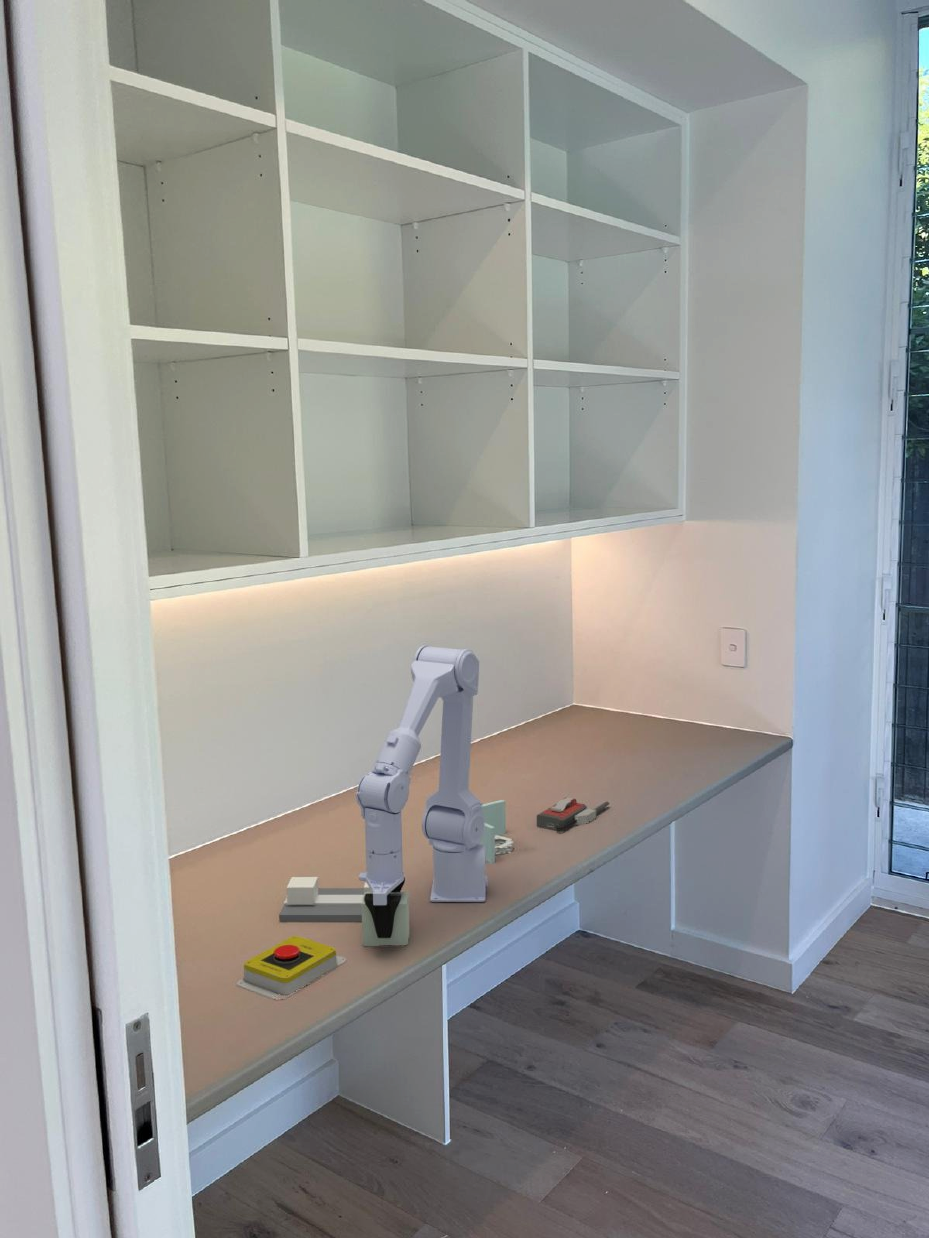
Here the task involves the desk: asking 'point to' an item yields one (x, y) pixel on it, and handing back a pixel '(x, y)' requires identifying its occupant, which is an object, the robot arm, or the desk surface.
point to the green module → (399, 926)
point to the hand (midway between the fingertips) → (386, 929)
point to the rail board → (321, 902)
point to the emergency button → (288, 967)
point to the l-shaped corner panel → (495, 830)
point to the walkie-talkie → (567, 815)
